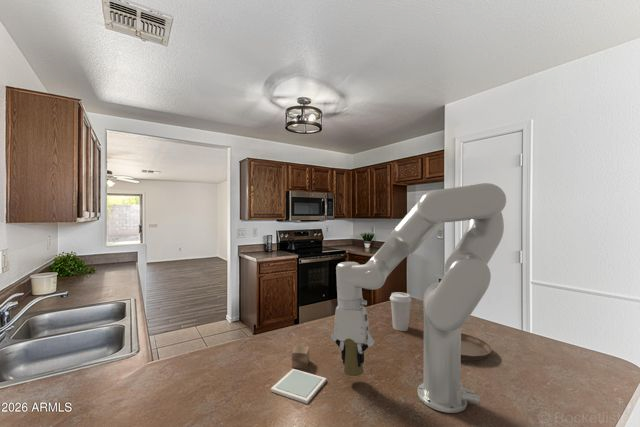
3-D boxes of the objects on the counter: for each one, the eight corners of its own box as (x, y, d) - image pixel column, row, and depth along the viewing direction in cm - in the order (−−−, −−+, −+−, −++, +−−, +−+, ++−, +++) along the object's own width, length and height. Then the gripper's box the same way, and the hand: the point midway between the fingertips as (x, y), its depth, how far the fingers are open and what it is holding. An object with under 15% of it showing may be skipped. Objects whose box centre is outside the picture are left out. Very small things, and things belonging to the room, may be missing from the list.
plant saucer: (450, 334, 123) (450, 327, 123) (502, 355, 106) (502, 345, 106) (418, 346, 112) (418, 338, 112) (471, 371, 95) (471, 361, 95)
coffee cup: (414, 332, 125) (414, 297, 125) (392, 332, 125) (392, 297, 125) (408, 324, 134) (408, 291, 134) (387, 324, 134) (387, 291, 134)
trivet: (326, 380, 88) (326, 377, 88) (307, 403, 78) (307, 400, 78) (292, 371, 94) (292, 368, 94) (270, 391, 83) (270, 388, 83)
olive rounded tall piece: (363, 376, 84) (361, 338, 84) (342, 375, 85) (340, 338, 86) (364, 366, 90) (362, 330, 90) (344, 365, 91) (343, 330, 92)
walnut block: (309, 361, 100) (309, 346, 100) (306, 368, 95) (306, 353, 95) (294, 360, 101) (295, 345, 101) (291, 367, 96) (292, 352, 96)
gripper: (380, 302, 88) (383, 362, 87) (330, 297, 95) (333, 353, 95) (373, 309, 81) (376, 375, 81) (320, 304, 89) (322, 364, 88)
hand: (353, 362), depth 88 cm, fingers closed on olive rounded tall piece, 4 cm apart
